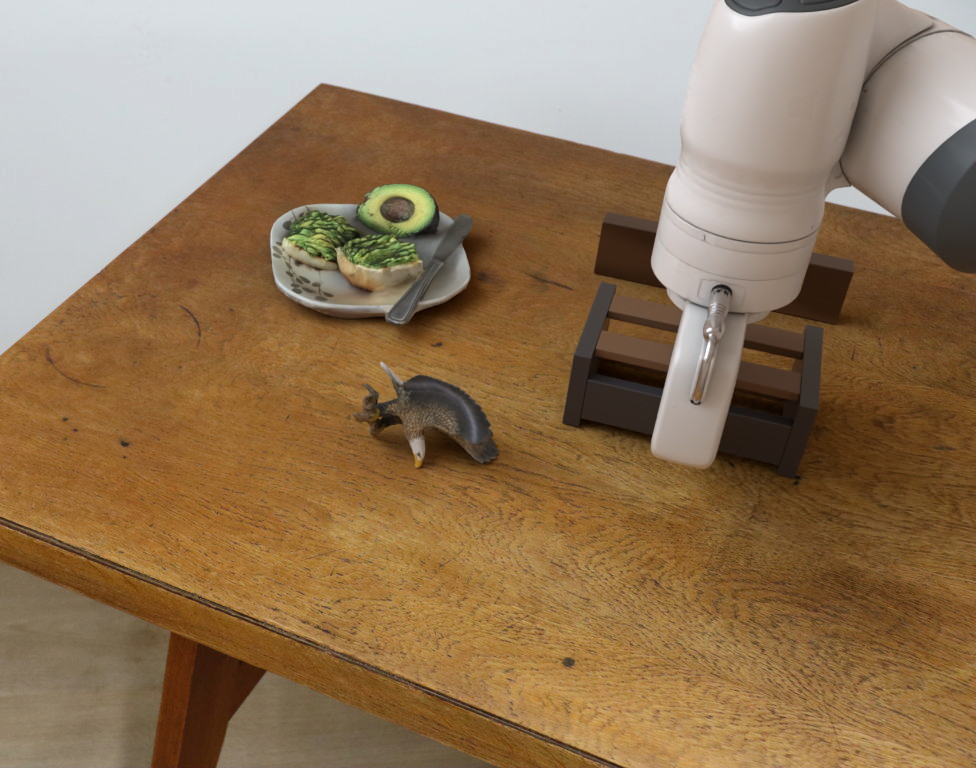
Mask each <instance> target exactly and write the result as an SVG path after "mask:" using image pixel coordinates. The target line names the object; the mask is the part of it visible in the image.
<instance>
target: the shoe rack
mask: <svg viewBox="0 0 976 768" xmlns="http://www.w3.org/2000/svg"><path fill="white" fill-rule="evenodd" d="M617 286H618V285H617V284H613V283H609V282H604V281H600V283H599V286H598V288H597V291H596V294H595V296H594V299H593V302H592V305H591V308H590V310H589V313H588V314H587V315H588V316H587V318H586V321H585V323H584V326H583V329H582V332H581V333H580V336H579V340H578V343H577V345H576V348H575V351H574V353H573V358H572V362H571V363H572V364H571V369H570V375H569V381H568V387H567V393H566V398H565V402H564V403H565V404H564V408H563V409H564V410H563V415H562V421H561V422H562V424H564V425H569V426H573V427H577V428H578V427H580V424H581V421H582V420H587V421H591V422H595V423H599V424H604V425H608V426H611V427H612V426H613V427H616V428H620V429H625V430H628V431H633V432H637V433H641V434H645V435H650V436H653V432H654V427H655V423H656V419H657V415H658V411H659V406H660V402H661V398H662V394H663V390H664V388H660V387H656V386H653V385H652V386H651V385H647V384H644V383H643V384H642V383H638V382H634V381H630V380H625V379H622V378H617V377H613V376H609V375H604V374H600V373H598V371H599V368H600V364H601V362H603V363H606V364H607V363H608V364H612V365H616V366H620V367H625V368H629V369H633V370H634V369H635V370H639V371H643V372H647V373H651V374H656V375H661V376H665V377H667V373H668V369H669V365H670V361H671V357H672V353H673V349H674V345H671V344H668V343H662V342H659V341H653V340H649V339H645V338H640V337H635V336H631V335H627V334H622V333H618V332H613V331H609V328H610V324H611V320H614V321H619V322H624V323H628V324H632V325H638V326H641V327H645V328H646V327H647V328H650V329H656V330H660V331H665V332H668V333H669V332H670V333H675V334H677V333H678V329H679V325H680V321H681V317H682V313H683V311H682V310H681V309H680V308H678V307H677V306H675V305H674V306H673V305H668V304H664V303H659V302H655V301H650V300H645V299H640V298H635V297H631V296H627V295H623V294H622V295H621V294H617V293H616V291H617ZM823 343H824V328H823V327H819V326H815V325H814V326H813V325H810V324H805V327H804V330H803V333H802V332H796V331H793V330H792V331H791V330H787V329H783V328H777V327H773V326H768V325H763V324H758V323H750V324H747V327H746V333H745V339H744V345H743V349H746V350H752V351H756V352H757V351H758V352H762V353H767V354H771V355H776V356H780V357H784V358H789V359H793V360H794V361H793V365H792V367H791V370H786V369H783V368H782V369H781V368H777V367H773V366H772V367H771V366H767V365H764V364H759V363H753V362H749V361H745V360H741V363H740V367H739V372H738V376H737V380H736V384H735V388H734V392H736V393H740V394H743V395H744V394H745V395H749V396H753V397H758V398H763V399H766V400H767V399H768V400H771V401H775V402H779V403H783V406H782V414H781V415H778V414H774V413H769V412H766V411H761V410H756V409H752V408H747V407H742V406H739V405H734V404H730V407H729V411H728V414H727V418H726V422H725V425H724V429H723V433H722V436H721V440H720V444H719V447H718V451H717V452H720V453H725V454H729V455H733V456H738V457H742V458H746V459H750V460H755V461H759V462H763V463H767V464H770V465H776V475H777V476H780V477H783V478H784V477H785V478H789V479H793V480H795V479H796V476H797V473H798V470H799V467H800V465H801V462H802V460H803V459H802V458H803V456H804V453H805V451H806V447H807V444H808V442H809V439H810V436H811V433H812V430H813V427H814V424H815V423H816V422H815V421H816V419H817V416H818V413H819V411H820V410H819V409H820V393H821V377H822V359H823Z"/></svg>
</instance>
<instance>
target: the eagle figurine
mask: <svg viewBox="0 0 976 768" xmlns="http://www.w3.org/2000/svg"><path fill="white" fill-rule="evenodd" d="M379 365H380V367H381V368H382V370H383V371H384V372H385V374H386V375H387V376H388V377H389V378H390V380H391V383H392V387H393V389H394V391H395V393H396V396H397V398H393V399H390V400H388V401H383V402H379V398H380V394H379V391H377V390H376V389H374V387H372V386H371V385H370V384H369V383H366V382H363V383H362V384H363V387H365V389H366V390H367V391H368V394H366V395H365V396H364V397H363V398H362V412H360V413H359V412H357V411H353V412H352V416H353V418H354V420H355V421H356V422H357V423H365V422H366V423H367V424H368V425H369V435H370V436H377V435H378V434H380V433H381V432H383V431H384V430H385V429H387V428H389V427H392V426H396V425H402V430H403V433H404V436H405V438H406V440H407V441H408V444H409V446H410V448H411V451H412V454H413V456H414V462H415V463H414V469H415V468H416V469H419V468H420V467H421V466H422V464H423V460H424V458H425V455H426V441H425V436H426V435H425V433H427V432H438V433H441V434H443V435H444V436H446V437H448V438H449V439H450V440H452V441H454V442H455V443H456V444H458V445H460V446H461V447H462V448H463V449H464V450H465V451H466V452H467V453H468V454H469V455H470V457H472V458H473V459H474V460H475V461H476V462H478V463H480V464H484V462H485V463H490V462H491V461H492V460H496V459H497V458H498V456H497V455H498V454H499V453H500V452H499V449H498V448H496V446H497V443H496V442H495V441H494V440H493V439H491V438H493V437H494V435H495V434H494V432H493V430H492V429H491V428H490V427H491V426H492V423H491V422H490V420H489V419H488V415H487V414H486V413H485V412H484V411H483V407H482V406H481V405H480V404H478V403H477V401H476V400H475V399H474V398H473V397H472V396H471V395H470V394H469V393H467V392H466V390H464V389H461V387H460V386H457V385H455V384H454V383H449V382H448V381H444V380H443V379H440V378H435V377H433V376H428V375H425V374H416V375H414V376H412V377H410V378H408V379H406V381H403V380H402V379H401V378H400V377H399V376H398V375H397V374H396V373H395V372H394V371H393V370H392V369H391V368H390V367H389V366H388V365H387V364H386V363H385V362H383V361H380V363H379Z"/></svg>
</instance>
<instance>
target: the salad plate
mask: <svg viewBox="0 0 976 768" xmlns="http://www.w3.org/2000/svg"><path fill="white" fill-rule="evenodd" d="M363 197H364V200H363V201H361V202H359V203H358V204H354V203H315V204H305V205H301V206H299V207H295V208H293V209H291V210H288V211H287V212H285V213H284V214H282V215H281V216H280V217H277V219H276V220H275V221H274V222H273V224H272V226H271V230H270V234H269V240H268V241H269V245H268V247H269V250H270V258H271V259H270V260H271V268H272V274H273V278H274V282H275V285H276V287H277V288H278V289H279V290H280V292H282V293H283V294H284V295H285V296H286V297H287V298H289V299H290V300H291V301H294V302H296V303H297V304H300V305H302V306H304V307H306V308H308V309H311V310H314V311H315V312H318V313H320V314H322V315H325V316H328V317H329V316H330V317H333V318H334V317H335V318H339V319H348V320H349V319H351V320H353V319H367V318H385V321H386V322H387V323H389V324H390V325H394V326H397V327H398V326H404V325H406V324H408V323H409V322H410V321H411V319H412V317H414V315H415V314H416V313H418V312H420V311H423V310H426V309H429V308H431V307H434V306H438V305H441V304H444V303H446V302H448V301H450V300H451V299H452V298H454V297H456V295H459V294H460V293H462V292H463V291H465V290H466V289H467V287H468V285H469V282H470V280H471V274H472V273H471V267H470V264H469V259H468V257H467V253H466V251H465V249H464V246H463V241H464V240H465V239H466V238H467V237H468V235H469V234H470V232H471V230H472V227H473V224H474V219H473V217H471V216H470V215H468V214H467V213H460V214H459V215H457V216H455V217H452V216H449V215H448V214H445V213H444V212H443V211H440V209H439V205H438V203H437V201H436V199H435V197H434V195H432V194H431V193H430V192H429V191H428V190H426V189H425V188H423V187H422V186H418V185H415V184H411V183H387V184H382V185H380V186H376V187H374V188H373V189H372V190H371V191H370V192H367V193H364V196H363Z"/></svg>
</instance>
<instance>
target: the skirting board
mask: <svg viewBox="0 0 976 768" xmlns="http://www.w3.org/2000/svg"><path fill="white" fill-rule="evenodd" d="M658 224H659V220H658V221H657V220H652V219H648V218H642V217H637V216H632V215H627V214H622V213H617V212H612V211H606V212H605V215H604V218H603V220H602V222H601V228H600V235H599V240H598V246H597V251H596V256H595V263H594V268H593V273H594V274H598V275H602V276H607V277H612V278H615V279H620V280H624V281H625V280H626V281H629V282H634V283H640V284H644V285H649V286H654V287H659V288H662V289H666V287H665V286H664V285H663V284H662V283H661V282H660V281H659V280H658V278H657V277H656V276H655V274H654V272H653V269H652V266H651V257H652V252H653V247H654V243H655V238H656V233H657V228H658ZM854 274H855V260H853V259H850V258H844V257H839V256H833V255H829V254H823V253H820V252H819V253H818V252H814V251H813V252H812V255H811V258H810V262H809V265H808V268H807V271H806V274H805V278H804V281H803V284H802V287H801V291H800V293H799V295H798V296H797V297H796V298H795V299H794V300H793V301H792V302H791V303H789V304H788V305H786V306H784V307H781V308H779V309H776V310H772V311H771V312H776V313H780V314H784V315H789V316H794V317H798V318H803V319H808V320H813V321H818V322H823V323H828V324H833V325H836V324H837V323H838V321H839V317H840V314H841V311H842V309H843V306H844V303H845V299H846V297H847V293H848V291H849V289H850V285H851V282H852V280H853V277H854Z"/></svg>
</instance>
